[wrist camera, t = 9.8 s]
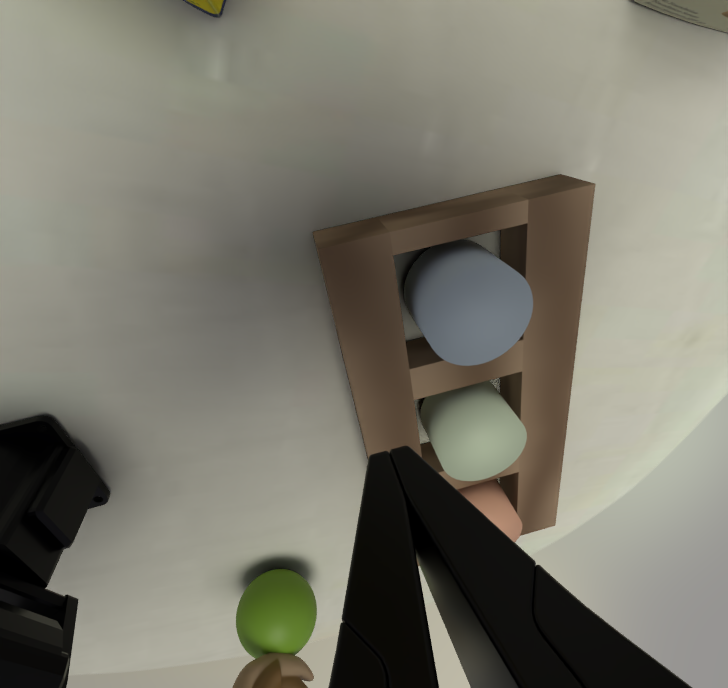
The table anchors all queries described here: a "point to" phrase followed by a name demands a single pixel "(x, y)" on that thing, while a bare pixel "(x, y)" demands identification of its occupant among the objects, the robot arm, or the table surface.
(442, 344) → the slate button
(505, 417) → the sage button
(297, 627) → the snail figurine
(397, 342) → the wooden compartment tray
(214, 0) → the supplement box
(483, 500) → the terracotta button
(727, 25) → the skincare box
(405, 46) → the table surface
